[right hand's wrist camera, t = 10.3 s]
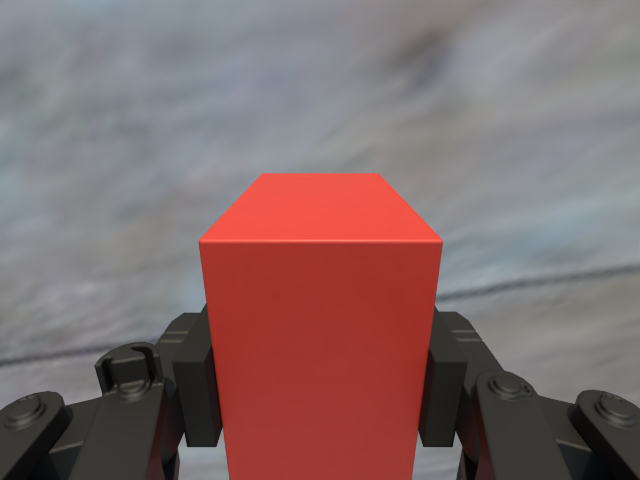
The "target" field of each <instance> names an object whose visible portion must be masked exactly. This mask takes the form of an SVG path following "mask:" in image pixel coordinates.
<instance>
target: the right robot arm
mask: <svg viewBox="0 0 640 480" xmlns="http://www.w3.org/2000/svg"><path fill="white" fill-rule="evenodd" d="M94 366H95V369H96V373H97V376H98V380H99V383H100V387H101V391H102V394H103V395H102V397H99V398H96V399H92V400H88V401H83V402H79V403H75V404H70V405H66V406H65V403H64V400H63V397H62V396H61V395H59V394H58V393H57V392H49V391H46V392H39V393H34V394H31V395H28V396H25V397H22V398H20V399H18V400H16V401H14V402H13V403H11V404H9V405H7V406H6V407H4V408H3V409H2V410H0V480H178V475H179V465H180V459H179V452H178V445H179V443H180V441H181V438H182V436H183V434H184V432H185V438H186V443H187V447H216V446H217V443H218V440H219V437H220V433H221V430H222V427H223V425H222V418H221V410H220V402H219V395H218V387H217V379H216V372H215V364H214V356H213V349H212V341H211V333H210V326H209V318H208V310H207V303H206V304H205V306H204V308H203V310H202V311H201V313H183V314H182V315H180V316H179V317H177V318H176V319H175V320H173V321H172V322H171V323H170V325H169V326H168V327H167V329H166V330H165V332H164V334H162V336H161V337H160V339H159V340H158V343H156V344H155V345H154V344H151V343H146V342H135V343H130V344H126V345H122V346H120V347H117V348H115V349H113V350H111V351H109V352H108V353H106V354H105V355H104V356H102V357H101V358H100V359H99V360H98V362H97V363H96V364H95V365H94ZM418 431H419V434H420V437H421V441H422V444H423V447H453V442H454V436H455V431H456V432H457V435H458V437H459V439H460V442H461V444H462V446H463V447H462V452H461V457H460V463H459V468H458V473H457V479H456V480H640V409H639V408H638V407H637V406H636V405H634V404H633V403H631V402H629V401H627V400H625V399H623V398H621V397H619V396H617V395H614V394H611V393H608V392H605V391H598V390H587V391H583V392H581V393H580V394H579V395H578V396H577V399H576V402H575V404H572V403H567V402H563V401H559V400H554V399H550V398H546V397H543V396H539V395H538V394H537V393H536V391H535V390H534V388H533V387H532V386H531V385H530V384H529V383H528V382H527V381H525V380H524V379H523V378H521V377H519V376H517V375H515V374H513V373H511V372H507V371H504V370H503V368H502V367H501V366H500V364H499V363H498V361H497V360H496V359H495V357H494V356H493V354H492V353H491V352H490V350H489V349H488V347H487V346H486V345H485V343H484V342H483V341H482V339H481V338H480V336H479V335H478V333H476V331H475V329H474V328H473V326H472V325H471V323H470V322H469V321H468V320H467V319H466V318H464V317H463V316H461V315H460V314H458V313H457V312H438V310H437V308H436V307H435V306H434V313H433V321H432V328H431V336H430V343H429V350H428V357H427V365H426V372H425V380H424V388H423V395H422V403H421V410H420V418H419V426H418Z"/></svg>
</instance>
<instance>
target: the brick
mask: <svg viewBox="0 0 640 480" xmlns="http://www.w3.org/2000/svg"><path fill="white" fill-rule="evenodd" d="M442 245H443V241H442V239H441V238H440V237H439V236H438V235H437V234H436V233H435V232H434V231H433V230H432V229H431V228H430V227H429V226H428V225H427V223H426V222H425V221H424V220H423V219H422V218H421V217H420V216H419V215H418V214H417V213H416V212H415V211H414V210H413V209H412V208H411V207H410V206H409V205H408V204H407V203H406V202H405V201H404V200H403V198H402V197H401V196H400V195H399V194H398V193H397V192H396V191H395V190H394V189H393V188H392V187H391V186H390V185H389V184H388V183H387V182H386V181H385V180H384V179H383V178H382V177H381V176H380V175H379V174H261V175H260V176H259V177H258V178H257V180H256V181H255V182H254V183H253V184H252V185H251V186H250V187H249V188H248V189H247V190H246V191H245V192H244V193H243V194H242V195H241V196H240V197H239V199H238V200H237V201H236V202H235V203H234V204H233V205H232V206H231V207H230V208H229V209H228V210H227V211H226V212H225V213H224V214H223V215H222V216H221V217H220V219H219V220H218V221H217V222H216V223H215V224H214V225H213V226H212V227H211V228H210V229H209V230H208V231H207V232H206V233H205V234H204V235H203V236H202V237H201V239H200V240H199V249H200V256H201V264H202V272H203V279H204V287H205V295H206V302H207V310H208V318H209V326H210V333H211V341H212V349H213V356H214V364H215V372H216V379H217V387H218V395H219V402H220V410H221V418H222V425H223V433H224V441H225V448H226V456H227V464H228V471H229V479H230V480H412V472H413V465H414V457H415V450H416V442H417V434H418V426H419V418H420V410H421V403H422V395H423V388H424V380H425V372H426V365H427V357H428V350H429V343H430V336H431V328H432V321H433V313H434V306H435V298H436V290H437V283H438V275H439V268H440V260H441V253H442Z"/></svg>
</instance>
